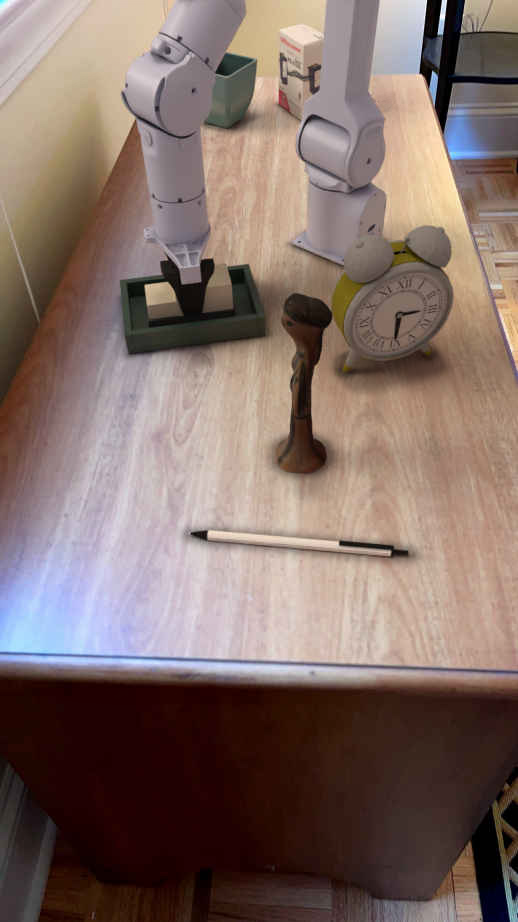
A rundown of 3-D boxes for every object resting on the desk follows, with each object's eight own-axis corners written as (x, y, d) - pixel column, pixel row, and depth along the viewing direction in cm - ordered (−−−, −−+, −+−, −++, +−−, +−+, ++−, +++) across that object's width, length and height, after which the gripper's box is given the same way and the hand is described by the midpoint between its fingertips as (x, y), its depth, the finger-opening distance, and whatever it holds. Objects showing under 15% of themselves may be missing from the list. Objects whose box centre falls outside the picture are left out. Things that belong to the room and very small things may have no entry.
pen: (407, 559, 59) (409, 552, 58) (188, 540, 61) (186, 533, 60) (407, 551, 59) (409, 543, 59) (190, 532, 61) (188, 524, 60)
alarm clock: (341, 383, 73) (352, 260, 62) (320, 343, 77) (327, 221, 66) (442, 362, 75) (471, 238, 63) (416, 324, 79) (439, 202, 68)
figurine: (279, 422, 69) (278, 268, 56) (328, 425, 69) (340, 271, 55) (272, 479, 65) (270, 325, 51) (326, 482, 64) (338, 328, 51)
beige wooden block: (229, 295, 83) (227, 262, 79) (235, 318, 80) (233, 284, 76) (146, 306, 82) (140, 272, 78) (149, 329, 79) (143, 296, 75)
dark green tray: (249, 281, 85) (248, 263, 83) (265, 335, 79) (265, 316, 77) (123, 298, 84) (119, 279, 82) (128, 353, 77) (124, 335, 75)
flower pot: (260, 116, 116) (258, 57, 110) (231, 136, 112) (228, 77, 105) (217, 105, 120) (213, 48, 113) (187, 125, 115) (181, 66, 108)
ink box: (276, 104, 119) (276, 27, 110) (301, 98, 121) (303, 21, 112) (301, 122, 114) (304, 43, 105) (327, 116, 116) (331, 37, 107)
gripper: (132, 159, 73) (150, 269, 84) (142, 231, 64) (161, 345, 74) (198, 152, 74) (207, 262, 84) (217, 222, 65) (225, 336, 75)
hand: (190, 300), depth 80 cm, fingers closed on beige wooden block, 4 cm apart
